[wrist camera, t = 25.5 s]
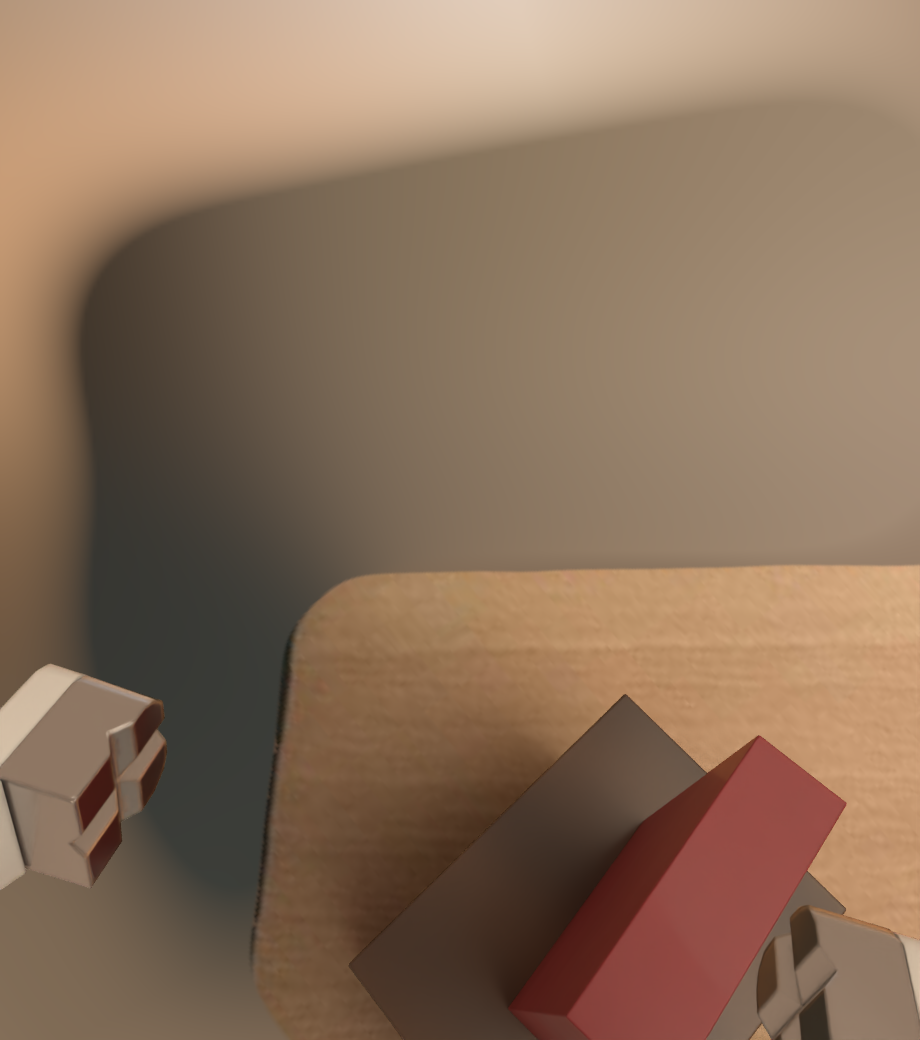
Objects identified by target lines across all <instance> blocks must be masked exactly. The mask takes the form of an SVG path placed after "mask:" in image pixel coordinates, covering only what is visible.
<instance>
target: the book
mask: <svg viewBox="0 0 920 1040" xmlns="http://www.w3.org/2000/svg"><path fill="white" fill-rule="evenodd" d="M845 806H846V802H845V801H843V800H842V799H841V798H839V797H838V796H837V795H836V794H834V793H833V792H832V791H830V790H829V789H828V788H827V787H825V786H824V785H823V784H821V783H820V782H819V781H818V780H816V779H815V778H814V777H812V776H811V775H810V774H809V773H807V772H806V771H805V770H803V769H802V768H801V767H800V766H798V765H797V764H796V763H794V762H793V761H792V760H791V759H789V758H788V757H787V756H785V755H784V754H783V753H782V752H780V751H779V750H778V749H776V748H775V747H774V746H773V745H771V744H770V743H769V742H767V741H766V740H765V739H764V738H762V737H761V736H759V735H758V736H757V737H755V738H754V739H753V740H751V741H750V742H749V743H747V744H746V745H745V746H743V747H742V748H741V749H739V750H738V751H737V752H735V753H734V754H733V755H731V756H730V757H729V758H727V759H726V760H725V761H723V762H722V763H720V764H719V765H718V766H716V767H715V768H714V769H712V770H711V771H710V772H708V773H707V774H706V775H704V776H703V777H702V778H700V779H699V780H698V781H696V782H695V783H694V784H692V785H691V786H690V787H688V788H687V789H686V790H684V791H683V792H682V793H680V794H679V795H678V796H676V797H675V798H673V799H672V800H671V801H669V802H668V803H667V804H665V805H664V806H663V807H661V808H660V809H659V810H657V811H656V812H655V813H653V814H652V815H651V816H649V817H648V818H647V819H645V820H644V821H643V822H642V824H641V825H640V826H639V828H638V829H637V830H636V832H635V833H634V835H633V836H632V837H631V839H630V840H629V841H628V843H627V844H626V846H625V847H624V848H623V850H622V851H621V853H620V854H619V855H618V857H617V858H616V859H615V861H614V862H613V864H612V865H611V866H610V868H609V869H608V871H607V872H606V873H605V875H604V876H603V877H602V879H601V880H600V882H599V883H598V884H597V886H596V887H595V888H594V890H593V891H592V893H591V894H590V895H589V897H588V898H587V900H586V901H585V902H584V904H583V905H582V906H581V908H580V909H579V911H578V912H577V913H576V915H575V916H574V918H573V919H572V920H571V922H570V923H569V924H568V926H567V927H566V929H565V930H564V931H563V933H562V934H561V935H560V937H559V938H558V940H557V941H556V942H555V944H554V945H553V947H552V948H551V949H550V951H549V952H548V953H547V955H546V956H545V958H544V959H543V960H542V962H541V963H540V965H539V966H538V967H537V969H536V970H535V971H534V973H533V974H532V976H531V977H530V978H529V980H528V981H527V983H526V984H525V985H524V987H523V988H522V989H521V991H520V992H519V994H518V995H517V996H516V998H515V999H514V1000H513V1002H512V1003H511V1005H510V1006H509V1007H508V1009H509V1011H510V1012H511V1013H512V1014H513V1015H514V1016H515V1017H516V1018H517V1019H518V1020H519V1021H520V1022H521V1023H522V1024H523V1025H524V1026H525V1027H526V1028H527V1029H528V1030H529V1031H530V1032H531V1033H532V1034H533V1035H534V1036H535V1037H536V1038H537V1039H538V1040H706V1039H707V1037H708V1035H709V1034H710V1032H711V1030H712V1029H713V1027H714V1025H715V1024H716V1022H717V1020H718V1019H719V1017H720V1015H721V1014H722V1012H723V1010H724V1009H725V1007H726V1005H727V1004H728V1002H729V1000H730V999H731V997H732V995H733V994H734V992H735V990H736V989H737V987H738V985H739V984H740V982H741V980H742V979H743V977H744V975H745V974H746V972H747V970H748V969H749V967H750V965H751V963H752V962H753V960H754V958H755V957H756V955H757V953H758V952H759V950H760V948H761V947H762V945H763V943H764V942H765V940H766V938H767V937H768V935H769V933H770V932H771V930H772V928H773V927H774V925H775V923H776V922H777V920H778V918H779V917H780V915H781V913H782V912H783V910H784V908H785V907H786V905H787V903H788V902H789V900H790V898H791V897H792V895H793V893H794V892H795V890H796V888H797V887H798V885H799V883H800V882H801V880H802V878H803V877H804V875H805V873H806V872H807V870H808V868H809V867H810V865H811V863H812V862H813V860H814V858H815V857H816V855H817V853H818V852H819V850H820V848H821V846H822V845H823V843H824V841H825V840H826V838H827V836H828V835H829V833H830V831H831V830H832V828H833V826H834V825H835V823H836V821H837V820H838V818H839V816H840V815H841V813H842V811H843V810H844V808H845Z"/></svg>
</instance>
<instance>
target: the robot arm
mask: <svg viewBox="0 0 920 1040" xmlns="http://www.w3.org/2000/svg"><path fill="white" fill-rule="evenodd" d="M164 718H165V717H164V709H163V702H162V701H161V700H158V699H155V698H152V697H149V696H146V695H143V694H140V693H137V692H134V691H131V690H128V689H125V688H122V687H119V686H116V685H113V684H110V683H107V682H104V681H101V680H98V679H95V678H92V677H89V676H87V675H84V674H81V673H78V672H75V671H71V670H68V669H65V668H62V667H59V666H56V665H53V664H48V665H46V666H44V667H42V668H41V669H39V670H37V671H36V672H34V673H33V674H32V675H31V676H30V677H29V678H28V679H27V680H26V682H25V683H24V684H23V685H22V686H21V687H20V688H19V689H18V690H17V691H16V692H15V693H14V694H13V695H12V696H11V697H10V699H9V700H8V701H7V702H6V703H5V704H4V705H3V706H2V707H1V708H0V889H2V888H4V887H5V886H7V885H8V884H10V883H11V882H13V881H14V880H16V879H17V878H19V877H20V876H22V875H23V874H25V873H26V869H25V868H27V869H30V870H33V871H36V872H39V873H43V874H46V875H49V876H52V877H55V878H59V879H62V880H65V881H68V882H72V883H75V884H78V885H81V886H84V887H88V888H91V887H92V886H93V884H94V883H95V881H96V880H97V878H98V877H99V875H100V874H101V872H102V871H103V869H104V868H105V866H106V865H107V863H108V861H109V860H110V859H111V857H112V855H113V854H114V853H115V851H116V850H117V848H118V847H119V845H120V844H121V842H122V834H121V833H122V832H121V822H122V821H123V820H125V819H127V818H129V817H131V816H133V815H135V814H137V813H138V812H140V811H142V810H143V808H144V806H145V805H146V804H147V802H148V800H149V799H150V797H151V796H152V794H153V793H154V791H155V788H156V786H157V784H158V781H159V779H160V777H161V774H162V772H163V769H164V765H165V760H166V755H167V745H166V740H165V738H164V737H163V736H162V734H161V733H160V732H159V731H158V729H157V728H158V726H159V725H160V724H161V722H162V721H163V719H164ZM790 927H791V932H789V933H785V934H782V935H778V936H774V938H773V939H772V941H771V942H770V943H769V945H768V946H767V948H766V949H765V950H764V953H763V956H762V960H761V963H760V966H759V970H758V976H757V988H756V1000H757V1015H758V1017H759V1019H760V1020H761V1022H762V1024H763V1026H764V1027H765V1029H766V1031H767V1032H768V1034H769V1036H770V1038H771V1039H772V1040H920V940H919V939H916V938H912V937H909V936H906V935H902V934H899V933H896V932H892V931H891V930H890V929H887V928H884V927H881V926H877V925H874V924H871V923H867V922H864V921H861V920H857V919H854V918H851V917H847V916H844V915H841V914H837V913H834V912H831V911H827V910H824V909H821V908H817V907H814V906H811V905H804V906H800V907H798V908H797V910H796V911H795V912H794V913H793V914H792V916H791V917H790Z"/></svg>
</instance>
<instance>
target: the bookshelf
mask: <svg viewBox="0 0 920 1040" xmlns="http://www.w3.org/2000/svg"><path fill="white" fill-rule="evenodd" d="M706 774H707V773H706V772H705V771H704V770H703V769H702V768H701V767H700V766H699V765H698V764H697V763H696V762H695V761H694V760H693V759H692V758H691V757H690V756H689V755H688V754H687V753H686V752H685V751H684V750H683V749H682V748H681V747H680V746H679V745H678V744H676V743H675V742H674V741H673V740H672V739H671V738H670V737H669V736H668V735H667V734H666V733H665V732H664V731H663V730H662V729H661V728H660V727H659V726H658V725H657V724H656V723H655V722H654V721H653V720H652V719H651V718H650V717H649V716H648V715H647V714H646V713H645V712H644V711H643V710H642V709H641V708H640V707H639V706H637V705H636V704H635V703H634V702H633V701H632V700H631V699H630V698H629V697H628V696H627V695H626V694H625V695H623V696H622V697H621V698H620V699H619V700H618V701H617V702H616V703H615V704H614V705H613V706H612V707H611V708H610V709H609V710H608V711H607V712H606V713H605V714H604V715H603V716H602V717H601V718H600V719H599V720H598V721H597V722H596V723H595V724H594V725H592V726H591V727H590V728H589V729H588V730H587V731H586V732H585V733H584V734H583V735H582V736H581V737H580V738H579V739H578V740H577V741H576V742H575V743H574V744H573V745H572V746H571V747H570V748H569V749H568V750H567V751H566V752H565V753H564V754H563V755H562V756H561V757H560V758H559V759H558V760H557V761H556V762H555V763H554V764H553V765H552V766H551V767H550V768H549V769H548V770H547V771H545V772H544V773H543V774H542V775H541V776H540V777H539V778H538V779H537V780H536V781H535V782H534V783H533V784H532V785H531V786H530V787H529V788H528V789H527V790H526V791H525V792H524V793H523V794H522V795H521V796H520V797H519V798H518V799H517V800H516V801H515V802H514V803H513V804H512V805H511V806H510V807H509V808H508V809H507V810H506V811H505V812H504V813H503V814H502V815H501V816H500V817H499V818H497V819H496V820H495V821H494V822H493V823H492V824H491V825H490V826H489V827H488V828H487V829H486V830H485V831H484V832H483V833H482V834H481V835H480V836H479V837H478V838H477V839H476V840H475V841H474V842H473V843H472V844H471V845H470V846H469V847H468V848H467V849H466V850H465V851H464V852H463V853H462V854H461V855H460V856H459V857H458V858H457V859H456V860H455V861H454V862H453V863H452V864H450V865H449V866H448V867H447V868H446V869H445V870H444V871H443V872H442V873H441V874H440V875H439V876H438V877H437V878H436V879H435V880H434V881H433V882H432V883H431V884H430V885H429V886H428V887H427V888H426V889H425V890H424V891H423V892H422V893H421V894H420V895H419V896H418V897H417V898H416V899H415V900H414V901H413V902H412V903H411V904H410V905H409V906H408V907H407V908H406V909H405V910H404V911H402V912H401V913H400V914H399V915H398V916H397V917H396V918H395V919H394V920H393V921H392V922H391V923H390V924H389V925H388V926H387V927H386V928H385V929H384V930H383V931H382V932H381V933H380V934H379V935H378V936H377V937H376V938H375V939H374V940H373V941H372V942H371V943H370V944H369V945H368V946H367V947H366V948H365V949H364V950H363V951H362V952H361V953H360V954H359V955H358V956H357V957H355V958H354V959H353V960H352V961H351V962H350V963H349V967H350V969H351V970H352V971H353V973H354V974H355V976H356V977H357V978H358V980H359V981H360V982H361V984H362V985H363V986H364V988H365V989H366V990H367V992H368V993H369V994H370V996H371V997H372V998H373V1000H374V1001H375V1002H376V1004H377V1005H378V1006H379V1008H380V1009H381V1010H382V1012H383V1013H384V1014H385V1016H386V1017H387V1018H388V1020H389V1021H390V1022H391V1024H392V1025H393V1026H394V1028H395V1029H396V1030H397V1032H398V1033H399V1034H400V1036H401V1037H402V1038H403V1040H538V1039H537V1038H536V1037H535V1036H534V1035H533V1034H532V1033H531V1032H530V1031H529V1030H528V1029H527V1028H526V1027H525V1026H524V1025H523V1024H522V1023H521V1022H520V1021H519V1020H518V1019H517V1018H516V1017H515V1016H514V1015H513V1014H512V1013H511V1012H510V1011H509V1009H508V1007H509V1006H510V1005H511V1003H512V1002H513V1000H514V999H515V998H516V996H517V995H518V994H519V992H520V991H521V989H522V988H523V987H524V985H525V984H526V983H527V981H528V980H529V978H530V977H531V976H532V974H533V973H534V971H535V970H536V969H537V967H538V966H539V965H540V963H541V962H542V960H543V959H544V958H545V956H546V955H547V953H548V952H549V951H550V949H551V948H552V947H553V945H554V944H555V942H556V941H557V940H558V938H559V937H560V935H561V934H562V933H563V931H564V930H565V929H566V927H567V926H568V924H569V923H570V922H571V920H572V919H573V918H574V916H575V915H576V913H577V912H578V911H579V909H580V908H581V906H582V905H583V904H584V902H585V901H586V900H587V898H588V897H589V895H590V894H591V893H592V891H593V890H594V888H595V887H596V886H597V884H598V883H599V882H600V880H601V879H602V877H603V876H604V875H605V873H606V872H607V871H608V869H609V868H610V866H611V865H612V864H613V862H614V861H615V859H616V858H617V857H618V855H619V854H620V853H621V851H622V850H623V848H624V847H625V846H626V844H627V843H628V841H629V840H630V839H631V837H632V836H633V835H634V833H635V832H636V830H637V829H638V828H639V826H640V825H641V824H642V822H643V821H644V820H645V819H647V818H648V817H649V816H651V815H652V814H653V813H655V812H656V811H657V810H659V809H660V808H661V807H663V806H664V805H665V804H667V803H668V802H669V801H671V800H672V799H673V798H675V797H676V796H678V795H679V794H680V793H682V792H683V791H684V790H686V789H687V788H688V787H690V786H691V785H692V784H694V783H695V782H696V781H698V780H699V779H700V778H702V777H703V776H704V775H706ZM804 905H811V906H814V907H817V908H821V909H824V910H827V911H831V912H834V913H837V914H841V915H843V914H844V913H845V911H846V908H845V907H844V906H843V905H842V904H841V903H840V902H839V901H838V900H837V899H836V898H834V897H833V896H832V895H831V894H830V893H829V892H828V891H827V890H826V889H825V888H824V887H823V886H822V885H821V884H820V883H819V882H818V881H817V880H816V879H815V878H814V877H813V876H812V875H811V874H810V873H809V872H808V871H807V872H806V873H805V875H804V877H803V878H802V880H801V882H800V883H799V885H798V887H797V888H796V890H795V892H794V893H793V895H792V897H791V898H790V900H789V902H788V903H787V905H786V907H785V908H784V910H783V912H782V913H781V915H780V917H779V918H778V920H777V922H776V923H775V925H774V927H773V928H772V930H771V932H770V933H769V935H768V937H767V938H766V940H765V942H764V943H763V945H762V947H761V948H760V950H759V952H758V953H757V955H756V957H755V958H754V960H753V962H752V963H751V965H750V967H749V969H748V970H747V972H746V974H745V975H744V977H743V979H742V980H741V982H740V984H739V985H738V987H737V989H736V990H735V992H734V994H733V995H732V997H731V999H730V1000H729V1002H728V1004H727V1005H726V1007H725V1009H724V1010H723V1012H722V1014H721V1015H720V1017H719V1019H718V1020H717V1022H716V1024H715V1025H714V1027H713V1029H712V1030H711V1032H710V1034H709V1035H708V1037H707V1039H706V1040H750V1039H751V1037H752V1036H753V1035H754V1033H755V1032H756V1031H757V1029H758V1028H759V1026H760V1025H761V1024H762V1022H761V1020H760V1019H759V1017H758V1015H757V1000H756V988H757V976H758V970H759V966H760V963H761V960H762V956H763V953H764V950H765V949H766V948H767V946H768V945H769V943H770V942H771V941H772V939H773V938H774V936H778V935H782V934H785V933H789V932H791V927H790V917H791V916H792V914H793V913H794V912H795V911H796V910H797V908H798V907H800V906H804Z"/></svg>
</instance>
